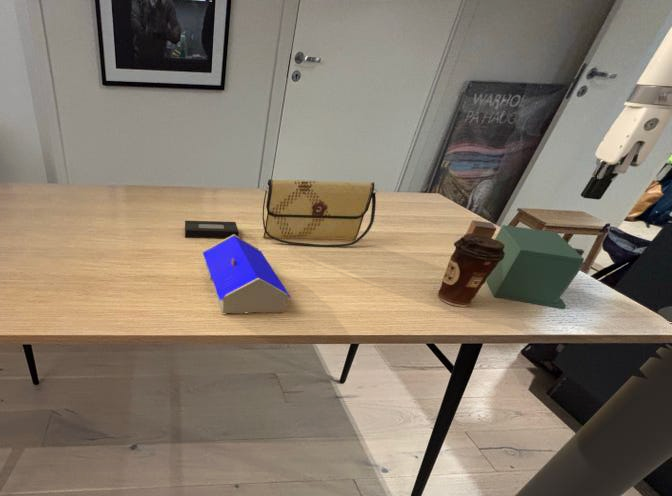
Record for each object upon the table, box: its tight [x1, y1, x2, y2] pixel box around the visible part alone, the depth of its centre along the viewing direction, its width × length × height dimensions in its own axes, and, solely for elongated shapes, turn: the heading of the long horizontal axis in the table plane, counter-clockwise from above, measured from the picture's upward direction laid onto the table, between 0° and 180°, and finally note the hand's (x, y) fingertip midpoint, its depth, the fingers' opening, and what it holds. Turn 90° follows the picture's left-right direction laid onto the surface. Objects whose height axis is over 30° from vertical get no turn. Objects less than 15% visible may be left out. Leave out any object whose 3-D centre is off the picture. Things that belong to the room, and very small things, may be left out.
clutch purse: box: [262, 178, 378, 248], centre depth 101 cm, size 30×7×15 cm, turn 91°
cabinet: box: [485, 224, 585, 310], centre depth 85 cm, size 13×16×11 cm
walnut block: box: [465, 219, 497, 239], centre depth 108 cm, size 5×5×5 cm
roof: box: [202, 234, 291, 314], centre depth 82 cm, size 22×14×7 cm, turn 7°
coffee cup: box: [437, 233, 505, 308], centre depth 78 cm, size 9×8×13 cm
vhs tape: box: [184, 220, 239, 239], centre depth 107 cm, size 8×14×2 cm, turn 91°
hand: (589, 197), depth 86 cm, fingers closed
